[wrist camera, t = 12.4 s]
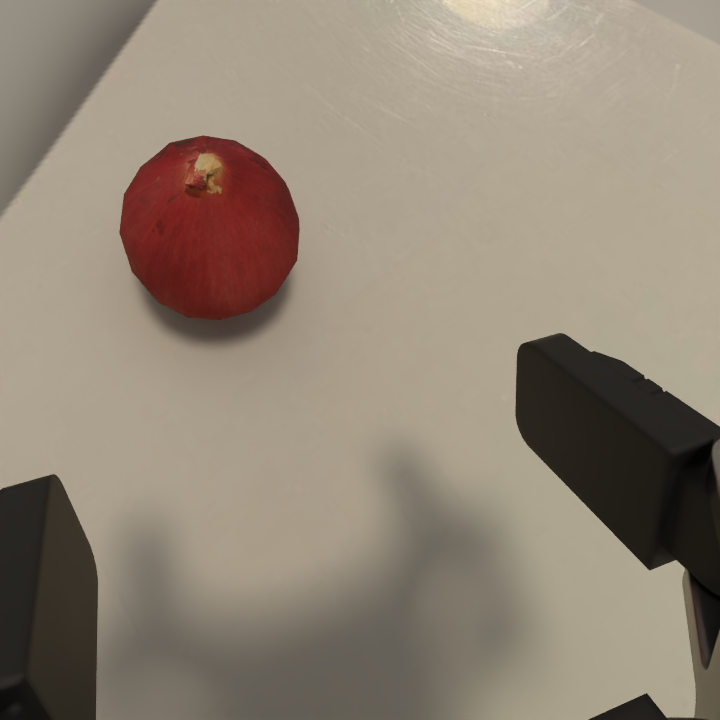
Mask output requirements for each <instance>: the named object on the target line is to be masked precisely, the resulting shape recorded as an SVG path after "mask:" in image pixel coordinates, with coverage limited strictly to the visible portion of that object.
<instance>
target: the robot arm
mask: <svg viewBox="0 0 720 720" xmlns="http://www.w3.org/2000/svg"><path fill="white" fill-rule="evenodd" d="M516 421H517V425H518V428H519V431H520V433H521V435H522V437H523V439H524V441H525V442H526V444H527V445H528V446H529V447H530V448H531V449H532V450H533V451H534V452H535V453H536V454H537V455H538V456H539V457H540V458H541V459H542V460H543V461H544V463H545V464H546V465H547V466H548V467H549V468H550V469H551V470H552V471H553V472H554V473H555V474H556V475H557V476H558V477H559V478H560V479H561V480H562V481H563V482H564V483H565V484H566V485H567V486H568V487H569V488H570V489H571V490H572V491H573V492H574V493H575V494H576V495H577V496H578V497H579V499H580V500H581V501H582V502H583V503H584V504H585V505H586V506H587V507H588V508H589V509H590V510H591V511H592V512H593V513H594V514H595V515H596V516H597V517H598V518H599V519H600V520H601V521H602V522H603V523H604V524H605V525H606V526H607V527H608V528H609V529H610V530H611V531H612V532H613V533H614V534H615V536H616V537H617V538H618V539H619V540H620V541H621V542H622V543H623V544H624V545H625V546H626V547H627V548H628V549H629V550H630V551H631V552H632V553H633V554H634V555H635V556H636V557H637V558H638V559H639V560H640V561H641V562H642V563H643V564H644V565H645V566H646V567H647V568H648V569H649V570H652V569H654V568H657V567H659V566H662V565H664V564H667V563H669V562H672V561H674V560H677V561H678V562H679V563H680V564H681V565H682V566H683V567H685V571H684V575H683V580H682V582H683V593H684V600H685V608H686V616H687V624H688V631H689V639H690V647H691V654H692V662H693V670H694V678H695V688H696V705H695V716H694V718H666V717H665V715H664V714H663V713H662V712H661V710H660V709H659V708H658V707H657V705H656V704H655V703H654V702H653V700H652V699H651V698H650V697H649V695H648V694H647V693H646V694H644V695H642V696H640V697H637V698H635V699H633V700H631V701H629V702H626V703H624V704H622V705H620V706H618V707H615V708H613V709H611V710H609V711H607V712H604V713H602V714H600V715H598V716H596V717H593V718H591V719H589V720H720V427H719V426H718V425H716V424H715V423H713V422H712V421H710V420H709V419H707V418H706V417H704V416H703V415H701V414H700V413H698V412H697V411H696V410H694V409H693V408H691V407H690V406H688V405H687V404H685V403H684V402H682V401H681V400H679V399H678V398H676V397H675V396H673V395H672V394H670V393H669V392H667V391H665V392H663V390H662V388H661V387H660V386H659V385H657V384H656V383H654V382H653V381H651V380H650V379H645V378H644V375H642V374H641V373H639V372H638V371H636V370H635V369H633V368H632V367H630V366H629V365H627V364H626V363H624V362H623V361H621V360H618V359H615V358H612V357H609V356H606V355H604V354H601V353H598V352H595V351H593V352H590V351H588V350H587V349H586V348H584V347H583V346H581V345H580V344H578V343H577V342H576V341H574V340H573V339H571V338H570V337H568V336H567V335H565V334H562V333H558V334H555V335H551V336H547V337H544V338H540V339H537V340H533V341H530V342H526V343H523V344H522V345H521V346H520V347H519V349H518V353H517V377H516ZM97 609H98V577H97V570H96V564H95V560H94V556H93V553H92V549H91V547H90V544H89V542H88V539H87V537H86V535H85V533H84V531H83V528H82V526H81V524H80V522H79V520H78V517H77V515H76V513H75V511H74V509H73V506H72V504H71V502H70V500H69V498H68V495H67V493H66V491H65V489H64V487H63V485H62V483H61V481H60V479H59V478H58V477H57V476H56V475H55V474H52V475H49V476H45V477H42V478H38V479H34V480H31V481H27V482H24V483H20V484H17V485H13V486H10V487H6V488H2V489H1V490H0V720H96V669H97Z"/></svg>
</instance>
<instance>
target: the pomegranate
mask: <svg viewBox="0 0 720 720" xmlns="http://www.w3.org/2000/svg"><path fill="white" fill-rule="evenodd" d="M120 236H121V239H122V242H123V245H124V248H125V251H126V254H127V257H128V260H129V264H130V267H131V270H132V272H133V273H134V275H135V276H136V277H137V278H138V279H139V280H140V281H141V283H142V284H143V285H144V286H145V287H146V288H147V290H148V291H149V292H150V293H151V294H152V295H153V296H154V297H155V299H156V300H157V301H158V302H159V303H161V304H163V305H165V306H167V307H169V308H171V309H173V310H175V311H177V312H179V313H181V314H183V315H184V316H186V317H193V318H205V319H218V320H221V319H224V318H228V317H232V316H236V315H239V314H243V313H247V312H251V311H252V310H254V309H255V308H257V307H258V306H259V305H261V304H262V303H264V302H265V301H267V300H268V299H270V298H271V297H272V296H274V295H275V294H276V293H277V291H278V290H279V288H280V287H281V285H282V284H283V282H284V280H285V279H286V277H287V276H288V274H289V272H290V271H291V269H292V268H293V266H294V265H295V263H296V261H297V254H298V242H299V218H298V215H297V212H296V209H295V206H294V203H293V200H292V197H291V194H290V191H289V189H288V187H287V185H286V183H285V181H284V180H283V179H282V178H281V177H280V175H279V174H278V173H277V172H276V171H275V169H274V168H273V167H272V166H271V165H270V164H269V162H268V161H267V160H266V159H265V158H263V157H262V156H261V155H259V154H257V153H255V152H254V151H252V150H250V149H249V148H247V147H245V146H244V145H242V144H240V143H238V142H237V141H234V140H228V139H221V138H215V137H209V136H199V137H194V138H190V139H185V140H181V141H176V142H172V143H169V144H168V145H167V146H166V147H165V148H163V149H162V150H161V151H160V152H159V153H158V154H156V155H155V156H154V157H153V158H151V159H150V160H149V161H148V162H146V163H145V164H144V165H143V166H141V167H140V169H139V171H138V172H137V174H136V176H135V177H134V179H133V181H132V182H131V184H130V185H129V187H128V189H127V190H126V192H125V194H124V200H123V208H122V216H121V224H120Z"/></svg>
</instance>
